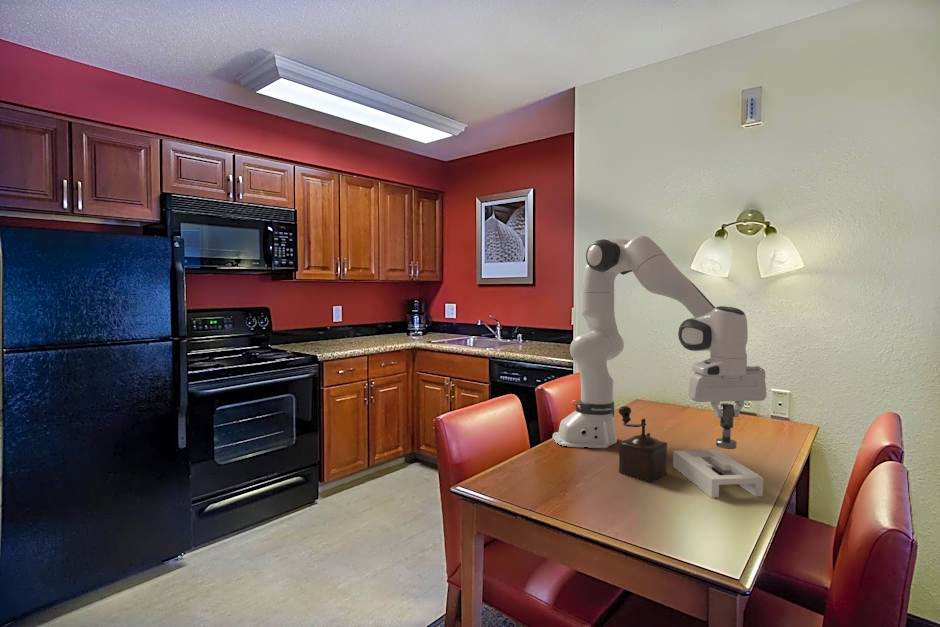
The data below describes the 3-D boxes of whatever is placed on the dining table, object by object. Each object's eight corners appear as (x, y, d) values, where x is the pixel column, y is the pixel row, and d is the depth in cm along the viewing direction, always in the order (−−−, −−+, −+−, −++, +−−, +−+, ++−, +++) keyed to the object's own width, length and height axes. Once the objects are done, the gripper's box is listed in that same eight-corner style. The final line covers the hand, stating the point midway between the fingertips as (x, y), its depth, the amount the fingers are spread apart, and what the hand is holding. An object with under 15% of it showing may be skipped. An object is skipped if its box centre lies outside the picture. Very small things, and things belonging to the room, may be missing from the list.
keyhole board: (711, 497, 133) (711, 479, 133) (673, 466, 155) (673, 450, 155) (762, 496, 134) (763, 477, 134) (717, 465, 156) (717, 449, 156)
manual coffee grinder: (669, 472, 151) (670, 413, 149) (650, 483, 143) (652, 420, 142) (622, 459, 162) (623, 403, 161) (602, 468, 154) (603, 410, 153)
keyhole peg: (722, 449, 136) (723, 407, 135) (712, 443, 141) (713, 402, 140) (740, 448, 136) (741, 406, 136) (729, 442, 141) (730, 402, 141)
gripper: (757, 364, 141) (756, 413, 142) (686, 365, 140) (685, 414, 141) (772, 368, 135) (770, 419, 136) (698, 369, 134) (696, 420, 135)
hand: (726, 416), depth 138 cm, fingers closed on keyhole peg, 3 cm apart
